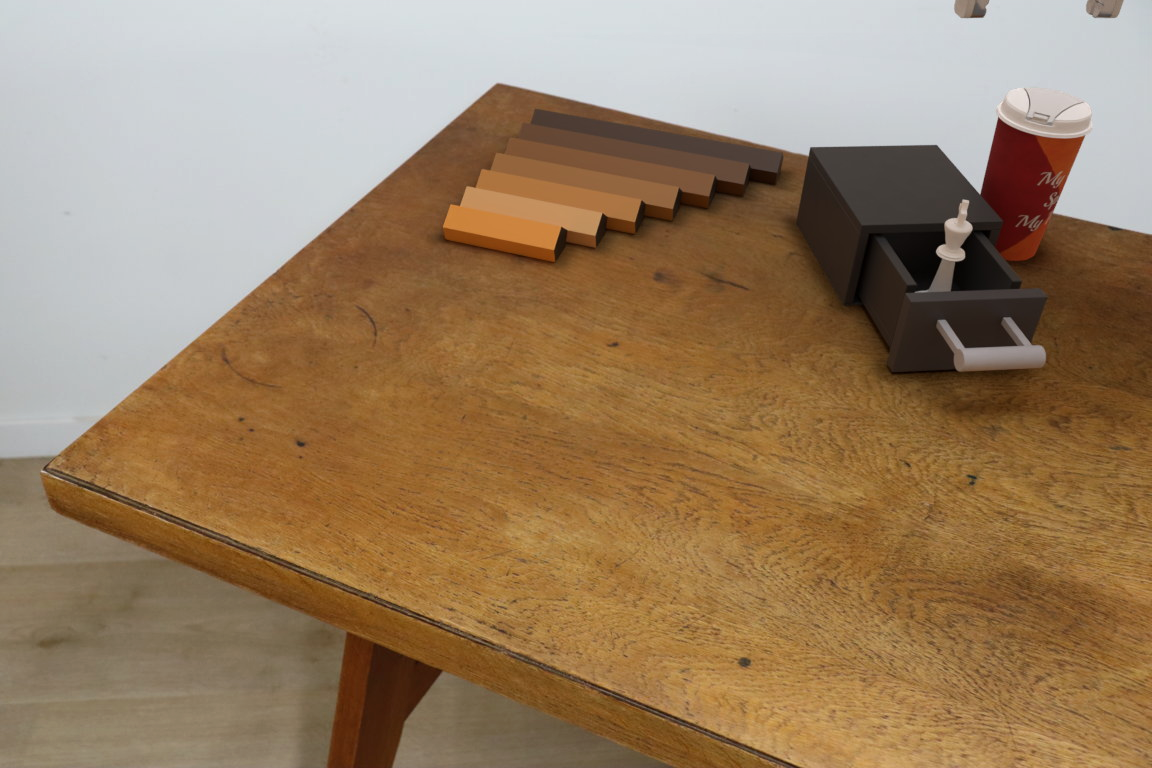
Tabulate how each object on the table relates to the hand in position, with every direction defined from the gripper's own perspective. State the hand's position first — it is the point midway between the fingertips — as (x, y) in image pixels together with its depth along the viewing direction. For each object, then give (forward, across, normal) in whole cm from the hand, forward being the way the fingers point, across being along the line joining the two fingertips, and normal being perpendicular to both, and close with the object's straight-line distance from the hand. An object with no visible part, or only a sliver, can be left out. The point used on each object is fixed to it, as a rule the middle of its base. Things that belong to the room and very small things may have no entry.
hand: (1034, 15), depth 74 cm
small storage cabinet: (+25, +2, -9) cm, 27 cm away
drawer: (+24, +2, +3) cm, 25 cm away
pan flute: (+25, +23, -20) cm, 40 cm away
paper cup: (+25, -10, -11) cm, 29 cm away
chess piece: (+23, +2, +2) cm, 23 cm away
